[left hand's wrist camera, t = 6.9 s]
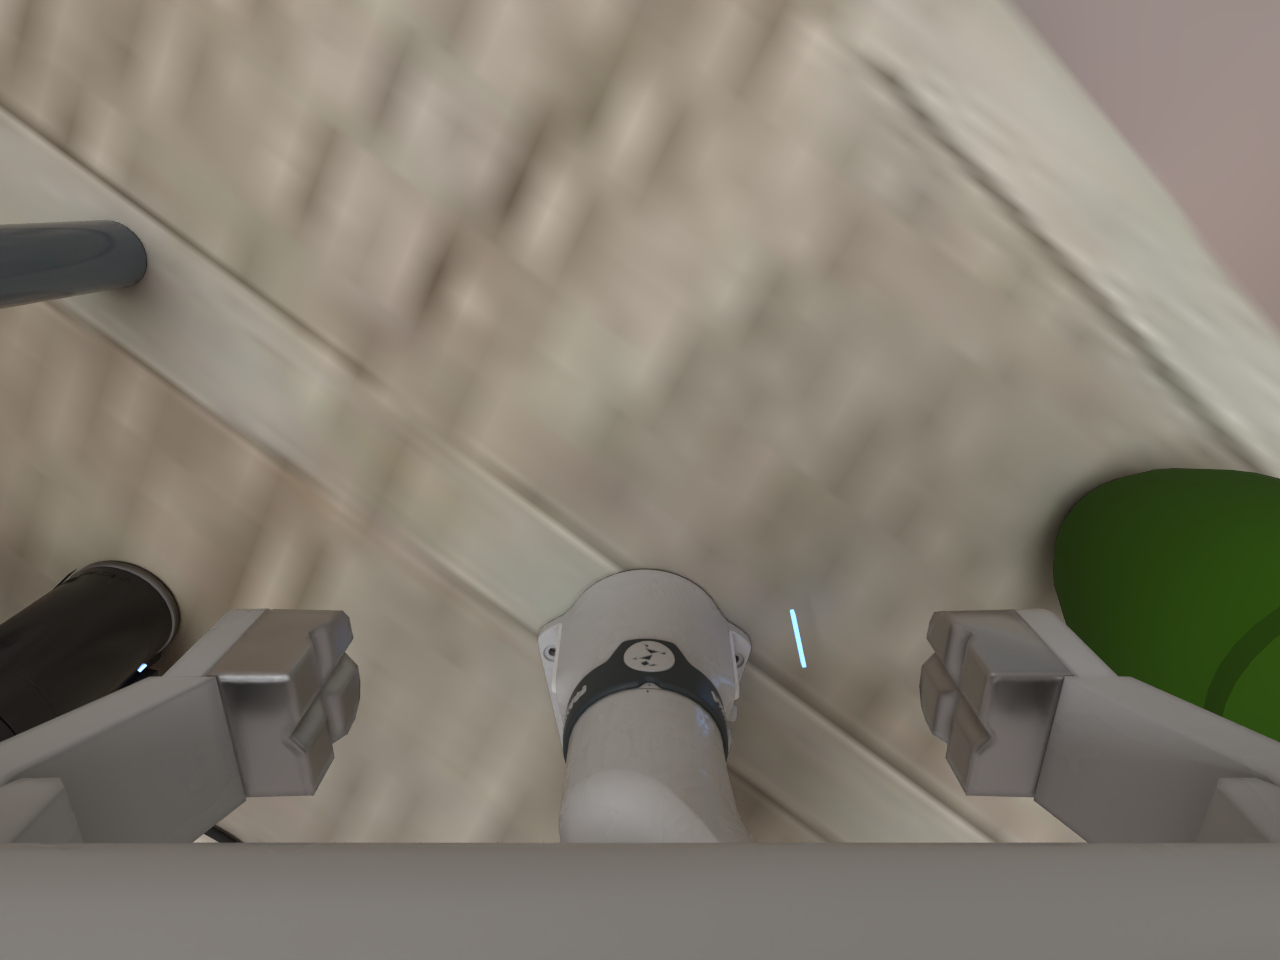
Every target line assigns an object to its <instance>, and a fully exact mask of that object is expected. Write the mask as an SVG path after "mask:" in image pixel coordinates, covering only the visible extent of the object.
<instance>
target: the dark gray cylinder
mask: <svg viewBox="0 0 1280 960" xmlns="http://www.w3.org/2000/svg"><path fill="white" fill-rule="evenodd" d="M146 264H147V260H146V254H145V250H144V248H143V245H142V244H141V242H140V240H139V239H138V238H137V236H136V235H135V234H134V233H133V232H132V231H131V230H130V229H128V228H127V227H125V226H124V225H122V224H120V223H117V222H114V221H109V220H95V221H72V222H49V223H27V224H4V225H0V309H3V308H9V307H15V306H20V305H26V304H32V303H38V302H43V301H49V300H55V299H60V298H66V297H72V296H77V295H83V294H89V293H94V292H100V291H106V290H111V289H117V288H123V287H128V286H131V285H134V284H135V283H137V282H138V281H139V280H140V279H141V278H142V277H143V275H144V273H145V270H146Z"/></svg>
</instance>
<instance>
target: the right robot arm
mask: <svg viewBox="0 0 1280 960" xmlns="http://www.w3.org/2000/svg"><path fill="white" fill-rule="evenodd" d="M74 571H75V570H74ZM74 571H73V572H74ZM73 572H71V573H70V574H68V575H67V576H66V577H65V578H64V579H63V580H62V581H61V582H60V583H59V584H58V585H57V586H56V587H55V588H54V589H53V590H52V591H50V592H49V593H47V594H46V595H44V596H43V597H41V598H40V599H38V600H37V601H35V602H34V603H32V604H31V605H29V606H28V607H26V608H25V609H23V610H22V611H20V612H19V613H17V614H16V615H14V616H13V617H11V618H10V619H8V620H7V621H5V622H4V623H2V624H1V625H0V742H2V741H4V740H6V739H9V738H11V737H13V736H16V735H18V734H20V733H22V732H25V731H27V730H29V729H31V728H34V727H36V726H38V725H41V724H43V723H45V722H47V721H50V720H52V719H54V718H56V717H59V716H61V715H63V714H66V713H68V712H70V711H72V710H75V709H77V708H79V707H81V706H84V705H86V704H88V703H91V702H93V701H95V700H97V699H100V698H102V697H104V696H107V695H109V694H111V693H113V692H116V691H118V690H120V689H122V688H125V687H127V686H129V685H132V684H134V683H136V682H138V681H141V680H143V679H145V678H147V677H154V676H158V671H157V670H153V669H149V668H150V667H151V666H152V665H153V664H154V663H155V662H156V661H157V660H158V659H160V658H161V650H162V649H164V648H165V647H166V646H167V645H168V644H169V643H170V642H171V641H172V639H173V638H174V636H175V634H176V632H177V629H178V625H179V614H178V609H177V606H176V603H175V601H174V599H173V597H172V595H171V594H170V592H169V591H168V590H167V588H166V587H165V586H164V585H163V584H162V583H161V582H160V581H159V580H158V579H157V578H155V577H154V576H153V575H151V574H150V573H148V572H146V571H145V570H143V569H141V568H139V567H136V566H134V565H131V564H127V563H123V562H117V561H103V562H97V563H93V564H90V565H88V566H86V567H84V568H83V569H81V570H80V571H78V572H77V573H75V574H74V575H73V576H71V577H70V578H69V579H68V580H67V581H66V582H64V581H65V580H66V579H67V578H68V577H69V576H70V575H71V574H72V573H73ZM63 582H64V583H63ZM62 583H63V584H62ZM204 834H205V835H207V836H209V837H211V838H213V839H214V840H216V841H218V842H219V843H238V842H237V841H235V840H234V839H233V838H231V837H230V836H228V835H226V834H225V833H223V832H222V831H220V830H218V829H216V828H214V827H212V828H210V829H209V830H208V831H207V832H205V833H204Z"/></svg>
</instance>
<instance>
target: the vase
mask: <svg viewBox="0 0 1280 960" xmlns="http://www.w3.org/2000/svg"><path fill="white" fill-rule="evenodd" d="M1053 576H1054V586H1055V589H1056V592H1057V596H1058V599H1059V602H1060V606H1061V609H1062V612H1063V615H1064V619H1065V622H1066V625H1067V626H1068V627H1069V628H1070V629H1071V630H1072V631H1073V632H1074V633H1075V634H1076V635H1077V636H1078V637H1079V638H1080V639H1081V640H1082V641H1083V642H1084V643H1085V644H1086V645H1087V646H1088V647H1089V648H1090V649H1091V650H1092V651H1093V652H1094V653H1095V654H1096V655H1097V656H1098V657H1099V658H1100V659H1101V660H1102V661H1103V662H1104V663H1105V664H1106V665H1107V666H1108V667H1109V668H1110V669H1111V670H1112V671H1113V672H1114V673H1115V674H1116V675H1117V676H1127V677H1133V678H1135V679H1137V680H1139V681H1142V682H1144V683H1146V684H1148V685H1151V686H1153V687H1155V688H1158V689H1160V690H1162V691H1164V692H1167V693H1169V694H1171V695H1173V696H1176V697H1178V698H1180V699H1182V700H1185V701H1187V702H1189V703H1192V704H1194V705H1196V706H1198V707H1201V708H1203V709H1205V710H1207V711H1210V712H1212V713H1214V714H1216V715H1219V716H1221V717H1223V718H1226V719H1228V720H1230V721H1232V722H1235V723H1237V724H1239V725H1241V726H1244V727H1246V728H1248V729H1250V730H1253V731H1255V732H1257V733H1260V734H1262V735H1264V736H1266V737H1269V738H1271V739H1273V740H1275V741H1278V742H1280V479H1279V478H1275V477H1271V476H1266V475H1262V474H1258V473H1252V472H1244V471H1235V470H1214V469H1181V468H1171V469H1157V470H1151V471H1147V472H1143V473H1139V474H1135V475H1131V476H1127V477H1123V478H1119V479H1115V480H1112V481H1110V482H1108V483H1105V484H1103V485H1101V486H1099V487H1098V488H1096V489H1094V490H1093V491H1091V492H1089V493H1088V494H1087V495H1086V496H1084V497H1083V498H1082V499H1081V500H1080V501H1079V502H1077V503H1076V505H1075V506H1074V507H1073V508H1072V509H1071V511H1070V512H1069V513H1068V514H1067V516H1066V518H1065V519H1064V521H1063V523H1062V524H1061V526H1060V529H1059V532H1058V535H1057V538H1056V544H1055V552H1054V563H1053Z"/></svg>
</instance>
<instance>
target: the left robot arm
mask: <svg viewBox="0 0 1280 960" xmlns="http://www.w3.org/2000/svg"><path fill="white" fill-rule="evenodd" d="M790 614H791V618H792V623H793V628H794V632H795V637H796V642H797V646H798V651H799V656H800V660H801V664H802V667H806V663H805V658H804V653H803V649H802V644H801V639H800V635H799V630H798V625H797V620H796V616H795V612H794V610H790ZM352 640H353V634H352V629H351V624H350V619H349V617H348V616H347V615H346V614H345V613H344V611H339V610H288V609H273V610H270V609H236V610H231V611H227V612H226V613H225V614H224V615H223V616H222V617H221V618H220V619H219V620H218V621H217V622H216V623H215V624H214V625H213V626H212V627H211V628H210V629H209V630H208V631H207V632H206V633H205V634H204V635H203V636H202V637H201V638H200V639H199V640H198V641H197V642H196V643H195V644H194V645H193V646H192V647H191V648H190V649H189V650H188V651H187V652H186V653H185V654H184V655H183V656H182V657H181V658H180V659H179V660H178V661H177V662H176V663H175V664H174V665H173V666H172V667H171V668H170V669H169V670H168V671H167V672H166V673H165V674H164V675H163V676H154V677H147V678H145V679H143V680H141V681H138V682H136V683H134V684H132V685H129V686H127V687H125V688H122V689H120V690H118V691H116V692H113V693H111V694H109V695H107V696H104V697H102V698H100V699H97V700H95V701H93V702H91V703H88V704H86V705H84V706H81V707H79V708H77V709H75V710H72V711H70V712H68V713H66V714H63V715H61V716H59V717H56V718H54V719H52V720H50V721H47V722H45V723H43V724H41V725H38V726H36V727H34V728H31V729H29V730H27V731H25V732H22V733H20V734H18V735H16V736H13V737H11V738H9V739H6V740H4V741H2V742H0V960H1280V742H1278V741H1275V740H1273V739H1271V738H1269V737H1266V736H1264V735H1262V734H1260V733H1257V732H1255V731H1253V730H1250V729H1248V728H1246V727H1244V726H1241V725H1239V724H1237V723H1235V722H1232V721H1230V720H1228V719H1226V718H1223V717H1221V716H1219V715H1216V714H1214V713H1212V712H1210V711H1207V710H1205V709H1203V708H1201V707H1198V706H1196V705H1194V704H1192V703H1189V702H1187V701H1185V700H1182V699H1180V698H1178V697H1176V696H1173V695H1171V694H1169V693H1167V692H1164V691H1162V690H1160V689H1158V688H1155V687H1153V686H1151V685H1148V684H1146V683H1144V682H1142V681H1139V680H1137V679H1135V678H1133V677H1127V676H1117V675H1116V674H1115V673H1114V672H1113V671H1112V670H1111V669H1110V668H1109V667H1108V666H1107V665H1106V664H1105V663H1104V662H1103V661H1102V660H1101V659H1100V658H1099V657H1098V656H1097V655H1096V654H1095V653H1094V652H1093V651H1092V650H1091V649H1090V648H1089V647H1088V646H1087V645H1086V644H1085V643H1084V642H1083V641H1082V640H1081V639H1080V638H1079V637H1078V636H1077V635H1076V634H1075V633H1074V632H1073V631H1072V630H1071V629H1070V628H1069V627H1068V626H1067V625H1066V624H1065V623H1064V622H1063V621H1062V620H1061V619H1060V618H1059V617H1058V616H1057V615H1056V614H1055V613H1054V612H1052V611H1049V610H1047V609H1044V608H1040V609H1015V610H976V611H941V612H934V614H933V616H932V618H931V620H930V622H929V628H928V633H927V640H928V641H929V643H930V644H931V646H932V648H933V649H934V651H935V653H934V654H933V655H932V656H931V657H930V658H929V659H928V660H927V661H926V662H925V663H924V664H923V665H922V670H921V678H920V686H919V687H920V698H921V707H922V710H923V714H924V717H925V720H926V722H927V724H928V726H929V728H930V730H931V732H932V734H934V735H935V736H937V737H938V738H940V739H941V740H943V741H944V742H946V743H947V744H948V746H947V752H946V759H947V761H948V763H949V765H950V767H951V768H952V770H953V772H954V774H955V776H956V777H957V779H958V781H959V783H960V785H961V786H962V788H963V790H964V792H965V794H966V795H972V796H1008V797H1034V801H1035V802H1037V803H1038V804H1039V805H1040V806H1042V807H1043V808H1044V809H1046V810H1047V811H1048V812H1049V813H1051V814H1052V815H1053V816H1055V817H1056V818H1057V819H1058V820H1060V821H1061V822H1062V823H1063V824H1065V825H1066V826H1067V827H1069V828H1070V829H1071V830H1072V831H1074V832H1075V833H1076V834H1078V835H1079V836H1080V837H1081V838H1083V839H1084V840H1085V841H1087V842H1088V843H755V842H754V841H753V840H752V838H751V837H750V835H749V834H748V832H747V831H746V829H745V827H744V825H743V823H742V821H741V819H740V816H739V814H738V810H737V807H736V803H735V800H734V796H733V792H732V788H731V784H730V780H729V776H728V771H727V766H726V761H727V756H728V753H729V751H730V748H731V743H732V730H731V728H729V727H728V722H727V721H729V722H735V721H736V718H737V706H736V705H733V704H734V700H737V699H738V698H739V683H740V680H741V678H742V675H743V672H744V669H745V666H746V664H747V661H748V658H749V655H750V652H751V641H750V638H749V637H748V635H747V634H746V633H744V632H743V631H742V630H740V629H739V628H738V627H736V626H734V625H733V624H731V623H730V622H728V621H727V620H726V619H725V618H724V617H723V615H722V614H721V612H720V611H719V609H718V608H717V606H716V605H715V603H714V602H713V600H712V599H711V598H710V597H709V596H708V595H707V594H706V593H705V592H704V591H703V590H702V589H701V588H700V587H698V586H697V585H695V584H694V583H692V582H691V581H689V580H687V579H685V578H683V577H681V576H678V575H675V574H672V573H669V572H664V571H659V570H649V569H641V570H630V571H625V572H621V573H617V574H614V575H611V576H609V577H606V578H604V579H602V580H600V581H599V582H597V583H595V584H594V585H592V586H591V587H590V588H588V589H587V590H586V591H585V592H584V593H583V594H582V595H581V596H580V597H579V598H578V599H577V601H576V602H575V603H574V604H573V606H572V607H571V608H570V609H569V610H568V611H567V612H566V613H565V614H564V615H562V616H560V617H558V618H556V619H554V620H552V621H550V622H549V623H547V624H546V625H544V626H543V627H542V628H541V629H540V630H539V632H538V647H539V651H540V655H541V660H542V664H543V668H544V672H545V677H546V681H547V685H548V689H549V694H550V698H551V702H552V706H553V711H554V715H555V719H556V723H557V728H558V732H559V736H560V740H561V745H562V749H563V754H564V759H565V763H566V767H565V775H564V783H563V791H562V798H561V806H560V814H559V835H560V840H561V843H192V842H194V841H195V840H196V839H198V838H199V837H200V836H201V835H203V834H204V833H205V832H207V831H208V830H209V829H210V828H212V827H213V826H214V825H215V824H217V823H218V822H219V821H221V820H222V819H223V818H224V817H226V816H227V815H228V814H230V813H231V812H232V811H233V810H235V809H236V808H237V807H239V806H240V805H241V804H242V803H244V802H245V801H246V797H271V796H306V795H314V794H315V792H316V790H317V788H318V786H319V785H320V783H321V781H322V779H323V777H324V776H325V774H326V772H327V770H328V768H329V767H330V765H331V763H332V761H333V759H334V752H333V746H332V744H333V743H334V742H336V741H337V740H339V739H340V738H342V737H343V736H345V735H346V734H348V732H349V730H350V728H351V726H352V724H353V722H354V720H355V718H356V713H357V709H358V705H359V700H360V676H359V669H358V665H357V664H356V663H355V662H354V661H353V660H352V659H351V658H350V657H349V656H348V655H347V654H346V653H345V651H346V649H347V648H348V646H349V644H350V643H351V641H352ZM551 648H556V651H555V652H554V651H551V650H550V649H551ZM735 655H736V656H737V657H736V658H735Z"/></svg>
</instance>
